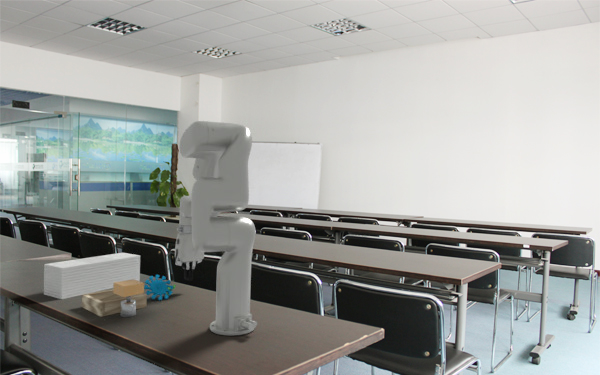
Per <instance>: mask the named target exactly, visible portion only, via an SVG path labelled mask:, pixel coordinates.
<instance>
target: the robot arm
mask: <svg viewBox="0 0 600 375" xmlns="http://www.w3.org/2000/svg"><path fill="white" fill-rule="evenodd" d="M252 146H253V136H252V132H251V130H250V128H248V127H247V126H245V125H243V124H240V123H239V124H238V123H231V122H217V121H209V120H208V121H204V120H196V121H194V122H192V123H191V124H190V125H189V126H188V127H187V128H186V129H185V130H184V132H182V135H181V137H180V140H179V153H180V154H181V156H182V157H183V158H185V159H195V160H194V164H193V168H192V176H193V178H194V179H195V182H194V184H193V186H192V189H191V195H183V196H181V197H180V199H179V218H178V219H179V223H178V227H176V231H177V232H178V233H177V236H176V241H175V247H174V260H175V263H174V264H175V265H176V266H178V267H179V266H180V267H182V269H183V279H184V281H187V282H188V281H193V280H194V270H195V268H196V266H197V265H198V264H199V263H202V262H203V259H204V258H205V253H213V252H214V253H216V252H224V253H222V255H221V257H220V259H219V261H218V263H217V267H216V288H215V289H216V292H215V294H216V296H215V320H213V321H212V322H210V323H209V330H210V331H211V332H212V333H214V334H217V335H221V336H232V337H233V336H242V335H246V334H249V333H251V332H253V331H254V330H255V329H256V327H257V326H258V322H257V321H255V320H253V314H252V313H251V286H252V284H251V282H252V281H251V280H252V279H251V278H252V257H253V249H254V245H255V241H256V240H255V239H256V232H257V231H256V227H255V224H254V222H253V220H251V219H250V218H248V217H246V216H239V215H238V216H237V215H232V216H231V215H229V216H224V215H223V216H220V214H221V212H223V213H225V212H228V213H229V212H238V211H239V212H241V211H243V210H245V209H246V208H248V205H249V199H250V198H249V196H250V193H249V192H250V190H249V188H250V187H249V186H250V182H249V159H250V154H251V150H252Z"/></svg>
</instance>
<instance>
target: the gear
mask: <svg viewBox="0 0 600 375" xmlns="http://www.w3.org/2000/svg"><path fill="white" fill-rule="evenodd" d="M154 278H155V279H154ZM159 278H160V274H155V276H153V275H150V276H149V277H148V279H146V280H145V281H144V290H147V291H146V292H145V294H146V295H147V296H149V295H151V296H150V298H151V299H152V300H155V299H156V297H157V296H158V298H157V300H158V301H160V300H161V301H162V300H163V298H164V300H167V299H169V296H171V295H172V294H173V291H174V290H175V288H176V284H173V285H171V280H170V279H168V280H166V278H167V277H166V276H164V275H162V276H161V278H160V279H159ZM163 295H164V296H163Z"/></svg>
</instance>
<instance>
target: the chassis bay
mask: <svg viewBox="0 0 600 375" xmlns="http://www.w3.org/2000/svg"><path fill="white" fill-rule="evenodd" d="M147 299H148V295H147V294H146V293H144V294H138V295H133V296H131V300H135V301H136V310H139V309H145V308H147V303H148V302H147ZM124 300H126V297H122V296H119V295H117V294H115V293H113V288H111V289H106V290H101V291H97V292H92V293H88V294H82V295H81V308H83V309H84V310H87V311H89V312H91V313H92V314H95V315H96V316H98V317H100V318H101V317H106V316H110V315H115V314H120V311H121V301H124Z"/></svg>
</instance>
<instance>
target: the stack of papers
mask: <svg viewBox="0 0 600 375" xmlns="http://www.w3.org/2000/svg"><path fill="white" fill-rule="evenodd" d="M43 267H44V268H43V295H45V296H48V297H52V298H55V299H59V300H64V299H69V298H73V297H74V298H75V297H79V296H82V294H88V293H94V292H100V291H106V290H111V289H113V288H114V282H120V281H126V280H133V279H134V280H137V281H140V279H141V255H139V254H134V253H133V254H132V253H127V252H118V253H111V254H105V255H97V256H90V257H84V258H77V259H71V260H65V261H57V262H50V263H45V264H44V265H43ZM140 282H141V281H140Z"/></svg>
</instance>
